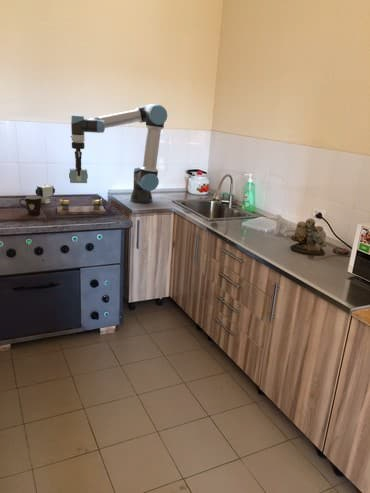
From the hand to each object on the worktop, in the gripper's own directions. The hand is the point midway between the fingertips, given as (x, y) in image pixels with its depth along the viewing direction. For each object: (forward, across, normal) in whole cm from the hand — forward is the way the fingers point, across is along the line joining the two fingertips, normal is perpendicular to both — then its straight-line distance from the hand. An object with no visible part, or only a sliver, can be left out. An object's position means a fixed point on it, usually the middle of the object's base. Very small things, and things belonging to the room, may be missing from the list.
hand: (78, 180), depth 262 cm
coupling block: (+1, 0, 0) cm, 1 cm away
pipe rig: (+15, +12, 0) cm, 20 cm away
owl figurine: (+17, +97, +104) cm, 143 cm away
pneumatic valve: (+17, -10, -20) cm, 28 cm away
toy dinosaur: (+17, +71, +106) cm, 129 cm away
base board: (+17, +12, 0) cm, 21 cm away
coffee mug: (+17, +17, -28) cm, 37 cm away
